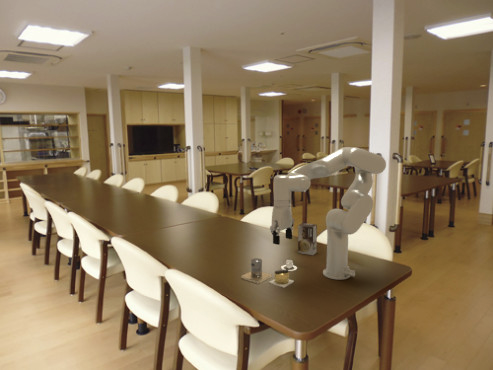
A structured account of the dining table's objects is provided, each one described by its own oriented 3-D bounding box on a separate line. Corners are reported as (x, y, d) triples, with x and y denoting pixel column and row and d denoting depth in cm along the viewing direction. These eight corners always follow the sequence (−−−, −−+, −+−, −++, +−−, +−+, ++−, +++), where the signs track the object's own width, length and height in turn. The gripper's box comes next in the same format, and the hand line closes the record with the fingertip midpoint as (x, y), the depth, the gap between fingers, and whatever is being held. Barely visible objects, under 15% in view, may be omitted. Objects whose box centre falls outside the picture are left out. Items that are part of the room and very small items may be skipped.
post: (271, 277, 164) (271, 259, 163) (258, 284, 156) (258, 265, 155) (254, 271, 170) (254, 255, 169) (241, 278, 163) (241, 260, 162)
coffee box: (316, 252, 199) (317, 224, 196) (312, 255, 193) (313, 227, 191) (301, 249, 203) (302, 222, 201) (297, 252, 198) (297, 225, 196)
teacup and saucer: (287, 264, 182) (287, 256, 181) (300, 267, 177) (301, 259, 176) (277, 269, 175) (277, 261, 175) (291, 272, 170) (291, 264, 170)
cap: (284, 277, 162) (285, 267, 161) (291, 282, 156) (291, 272, 155) (272, 279, 160) (272, 269, 159) (278, 285, 154) (278, 274, 153)
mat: (293, 282, 159) (293, 280, 158) (283, 287, 152) (283, 286, 152) (279, 277, 164) (279, 276, 164) (269, 283, 158) (269, 281, 158)
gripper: (286, 199, 162) (286, 235, 164) (263, 205, 149) (264, 244, 151) (300, 201, 157) (300, 238, 160) (278, 207, 144) (278, 248, 147)
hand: (282, 241), depth 155 cm, fingers open, 9 cm apart
